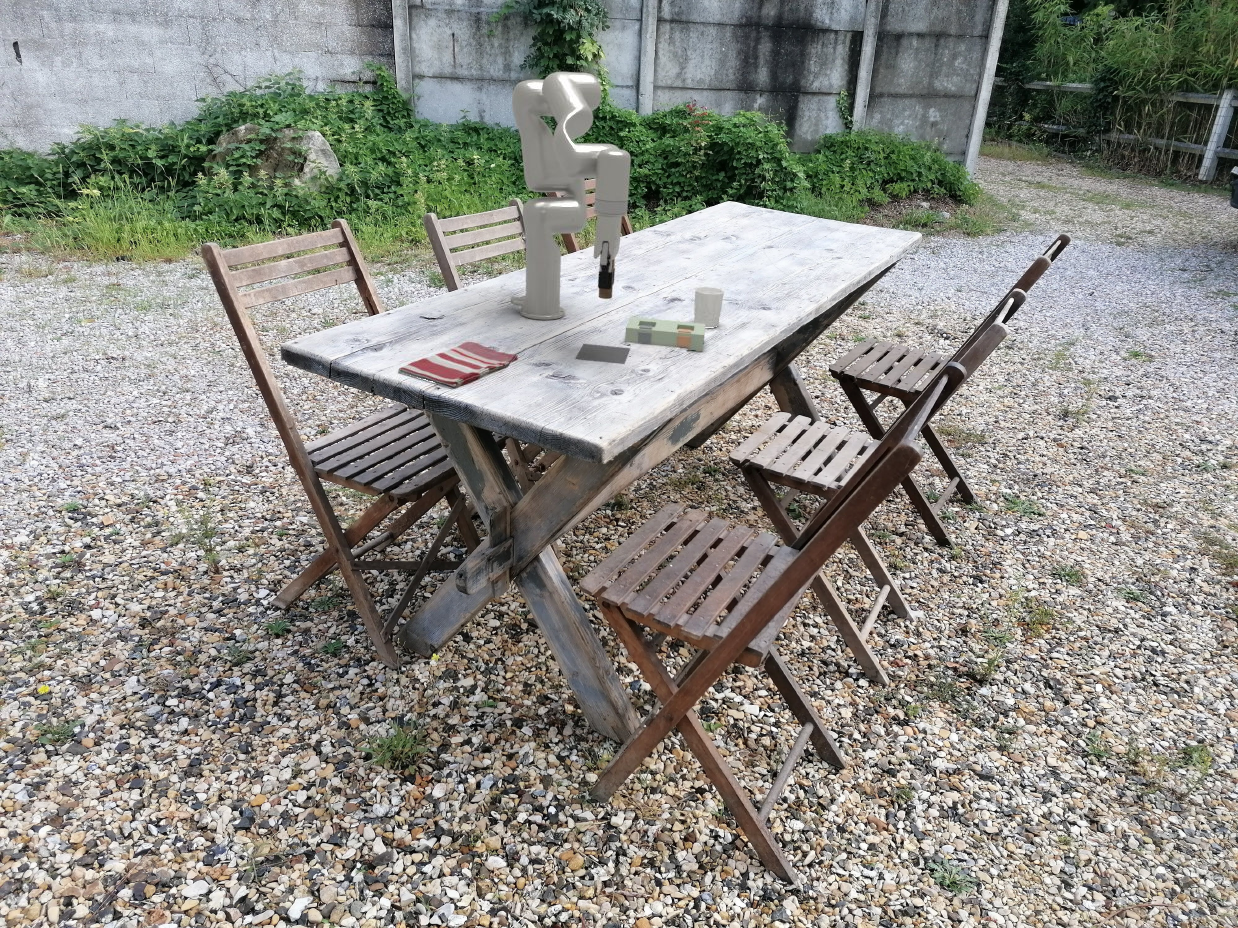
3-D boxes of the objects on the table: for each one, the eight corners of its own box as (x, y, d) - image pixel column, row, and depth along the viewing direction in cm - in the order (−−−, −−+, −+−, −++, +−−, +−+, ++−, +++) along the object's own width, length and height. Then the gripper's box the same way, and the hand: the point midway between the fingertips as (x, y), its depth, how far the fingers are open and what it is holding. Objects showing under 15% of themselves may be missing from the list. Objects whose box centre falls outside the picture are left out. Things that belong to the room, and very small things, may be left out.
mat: (574, 362, 201) (575, 359, 201) (583, 346, 212) (583, 343, 211) (624, 367, 200) (624, 363, 200) (630, 351, 211) (630, 348, 210)
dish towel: (520, 364, 199) (520, 353, 198) (453, 392, 181) (453, 380, 180) (466, 349, 207) (465, 338, 206) (396, 374, 189) (396, 363, 187)
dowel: (597, 298, 198) (599, 256, 194) (599, 294, 201) (601, 253, 197) (610, 299, 198) (613, 257, 193) (612, 295, 201) (615, 254, 196)
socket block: (624, 344, 215) (625, 326, 213) (629, 333, 224) (630, 315, 222) (702, 352, 213) (704, 334, 211) (703, 340, 222) (705, 322, 220)
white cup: (697, 330, 230) (701, 294, 226) (688, 321, 237) (691, 286, 233) (724, 329, 232) (728, 294, 228) (713, 321, 239) (717, 286, 235)
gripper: (600, 199, 198) (595, 276, 206) (588, 212, 183) (584, 294, 192) (631, 202, 197) (625, 279, 205) (622, 215, 182) (616, 297, 191)
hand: (605, 285), depth 198 cm, fingers closed on dowel, 3 cm apart
